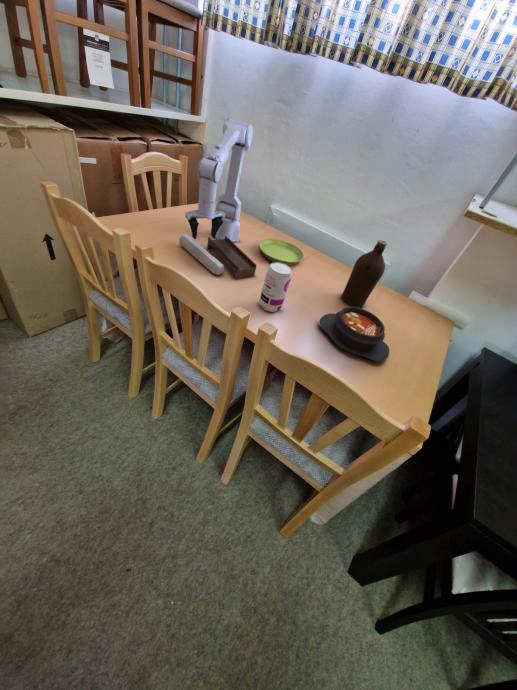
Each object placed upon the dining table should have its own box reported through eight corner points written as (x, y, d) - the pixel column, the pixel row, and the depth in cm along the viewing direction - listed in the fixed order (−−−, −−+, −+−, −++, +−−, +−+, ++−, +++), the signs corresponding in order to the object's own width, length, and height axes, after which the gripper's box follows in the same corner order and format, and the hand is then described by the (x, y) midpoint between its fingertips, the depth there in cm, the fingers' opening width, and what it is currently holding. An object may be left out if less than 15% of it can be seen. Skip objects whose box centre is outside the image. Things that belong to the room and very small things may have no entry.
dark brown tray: (224, 247, 128) (226, 236, 125) (254, 276, 115) (256, 264, 112) (207, 249, 124) (208, 237, 120) (235, 279, 111) (237, 267, 107)
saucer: (279, 272, 123) (281, 265, 120) (248, 248, 132) (250, 242, 130) (310, 263, 135) (313, 257, 133) (280, 242, 144) (282, 236, 142)
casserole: (393, 348, 101) (407, 329, 95) (374, 375, 89) (388, 356, 83) (332, 310, 110) (341, 292, 104) (307, 331, 97) (315, 311, 92)
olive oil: (367, 311, 115) (401, 252, 98) (342, 306, 113) (372, 245, 97) (361, 296, 123) (391, 238, 106) (337, 291, 121) (364, 232, 104)
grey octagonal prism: (228, 265, 110) (192, 235, 121) (218, 264, 105) (181, 232, 116) (223, 278, 112) (187, 247, 123) (212, 277, 108) (177, 245, 119)
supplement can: (283, 303, 106) (295, 267, 96) (277, 315, 100) (289, 278, 90) (263, 296, 107) (272, 258, 97) (255, 307, 101) (265, 268, 91)
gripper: (192, 204, 95) (189, 243, 104) (231, 204, 102) (225, 241, 111) (183, 195, 99) (182, 234, 108) (221, 196, 106) (217, 232, 115)
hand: (203, 237), depth 110 cm, fingers open, 7 cm apart
